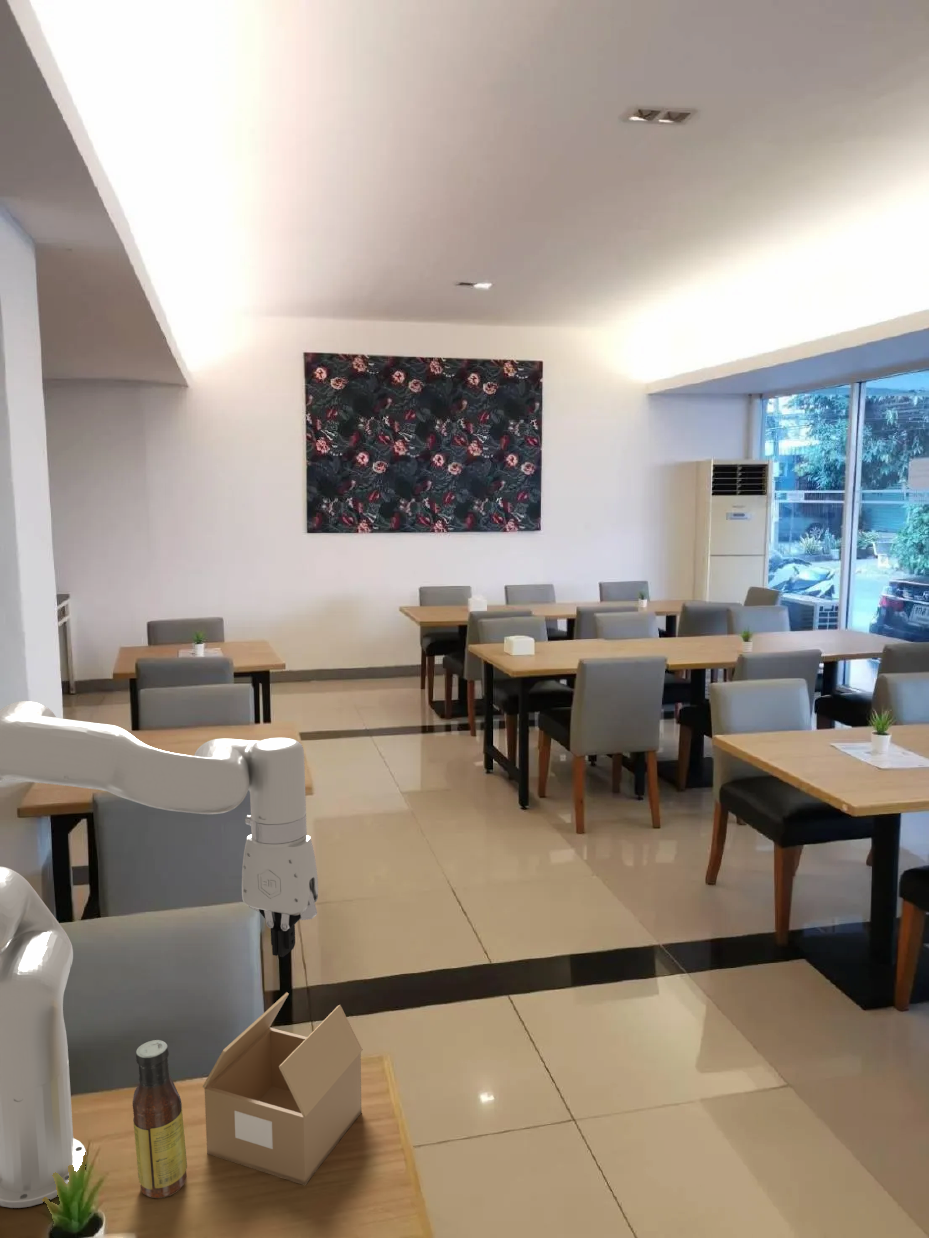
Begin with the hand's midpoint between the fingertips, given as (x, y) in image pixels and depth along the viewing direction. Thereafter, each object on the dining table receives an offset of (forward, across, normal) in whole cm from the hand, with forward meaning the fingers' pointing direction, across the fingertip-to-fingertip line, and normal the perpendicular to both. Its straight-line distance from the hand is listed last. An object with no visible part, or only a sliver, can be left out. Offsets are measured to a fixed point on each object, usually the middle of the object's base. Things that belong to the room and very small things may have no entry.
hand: (283, 951), depth 131 cm
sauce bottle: (+28, -10, -15) cm, 34 cm away
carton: (+28, 0, 0) cm, 28 cm away
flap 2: (+15, +6, 0) cm, 16 cm away
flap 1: (+15, -6, 0) cm, 16 cm away
